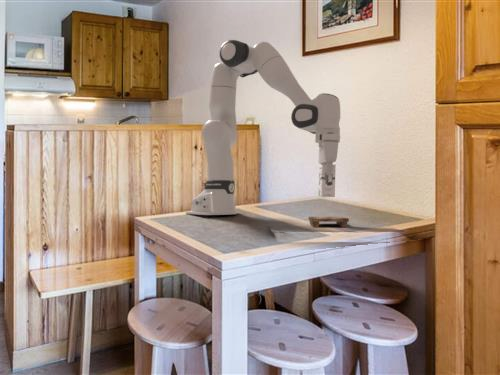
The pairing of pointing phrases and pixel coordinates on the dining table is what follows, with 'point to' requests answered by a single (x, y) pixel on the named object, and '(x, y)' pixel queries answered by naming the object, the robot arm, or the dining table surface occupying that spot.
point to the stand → (339, 221)
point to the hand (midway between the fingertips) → (326, 175)
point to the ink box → (326, 182)
